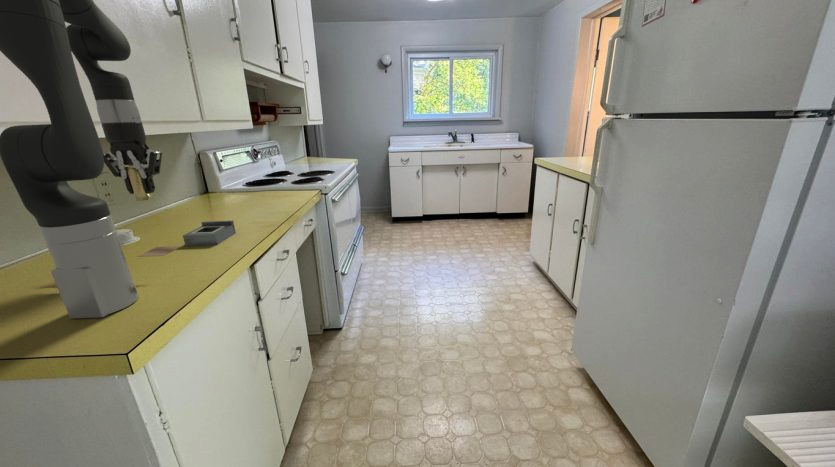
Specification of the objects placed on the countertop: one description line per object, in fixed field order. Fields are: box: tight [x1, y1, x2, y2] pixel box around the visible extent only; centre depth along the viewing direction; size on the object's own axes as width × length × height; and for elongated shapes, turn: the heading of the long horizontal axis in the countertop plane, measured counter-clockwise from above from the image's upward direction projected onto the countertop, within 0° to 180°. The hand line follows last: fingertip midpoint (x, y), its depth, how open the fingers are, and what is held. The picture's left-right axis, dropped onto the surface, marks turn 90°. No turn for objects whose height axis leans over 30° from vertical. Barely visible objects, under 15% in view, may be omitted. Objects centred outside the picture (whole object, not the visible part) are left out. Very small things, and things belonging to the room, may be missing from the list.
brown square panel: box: [137, 245, 182, 258], centre depth 91 cm, size 7×7×1 cm
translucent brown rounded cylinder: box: [126, 167, 153, 202], centre depth 85 cm, size 3×3×8 cm
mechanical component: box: [116, 228, 141, 247], centre depth 99 cm, size 10×4×10 cm
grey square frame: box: [182, 220, 237, 247], centre depth 98 cm, size 10×9×5 cm
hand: (142, 192), depth 86 cm, fingers closed on translucent brown rounded cylinder, 3 cm apart
